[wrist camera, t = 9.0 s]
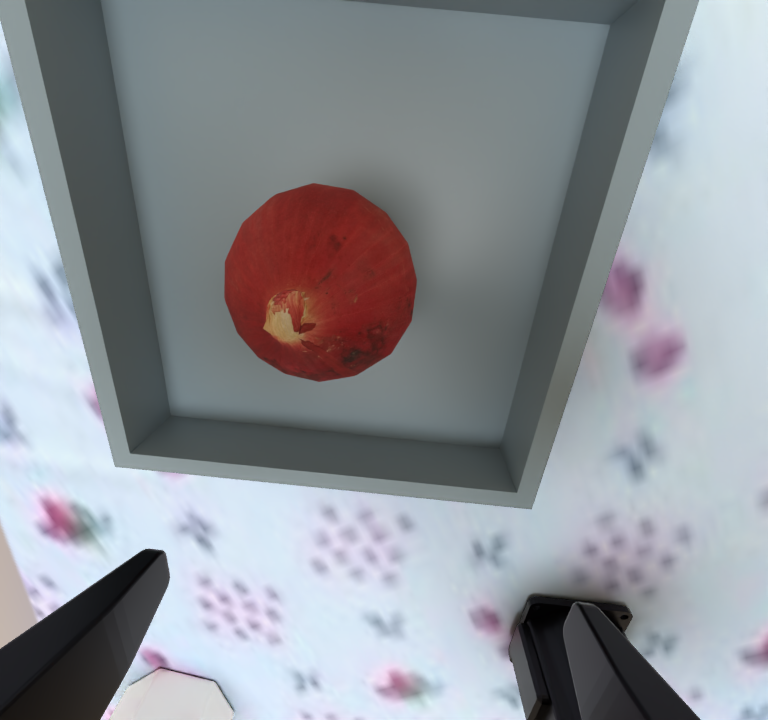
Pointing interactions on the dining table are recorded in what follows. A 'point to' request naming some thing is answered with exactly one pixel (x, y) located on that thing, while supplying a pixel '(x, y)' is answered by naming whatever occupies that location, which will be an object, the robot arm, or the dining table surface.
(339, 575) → the dining table surface
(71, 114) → the tray
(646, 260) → the dining table surface
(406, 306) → the onion
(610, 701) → the robot arm
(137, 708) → the jar
